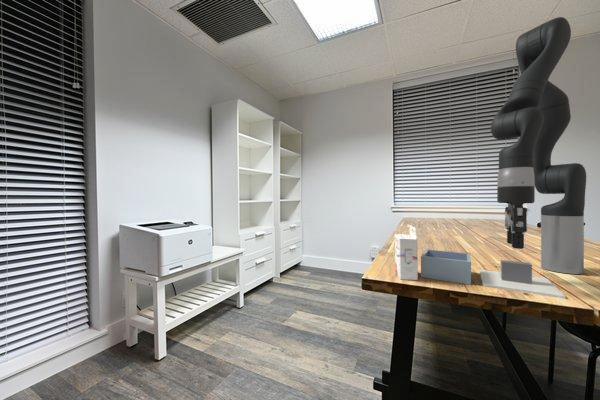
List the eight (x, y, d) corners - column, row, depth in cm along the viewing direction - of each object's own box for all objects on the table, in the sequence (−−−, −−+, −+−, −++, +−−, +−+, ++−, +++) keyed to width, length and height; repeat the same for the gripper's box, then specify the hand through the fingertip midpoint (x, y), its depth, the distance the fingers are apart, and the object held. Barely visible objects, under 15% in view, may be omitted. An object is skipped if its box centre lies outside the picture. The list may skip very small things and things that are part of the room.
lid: (479, 273, 76) (479, 253, 76) (546, 282, 68) (546, 260, 68) (482, 288, 64) (482, 264, 64) (565, 301, 55) (565, 274, 55)
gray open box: (426, 267, 81) (426, 249, 81) (470, 273, 75) (470, 253, 75) (420, 276, 71) (420, 256, 71) (471, 284, 65) (470, 262, 65)
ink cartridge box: (394, 271, 77) (393, 224, 77) (410, 271, 76) (410, 224, 76) (399, 279, 69) (399, 227, 69) (418, 280, 68) (418, 227, 68)
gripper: (541, 183, 58) (541, 252, 58) (528, 186, 69) (527, 243, 69) (500, 184, 62) (500, 248, 62) (494, 187, 74) (494, 241, 74)
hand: (514, 246), depth 66 cm, fingers open, 8 cm apart
